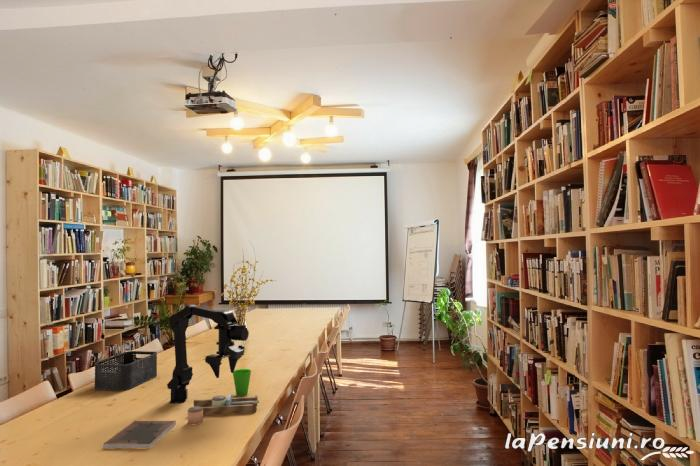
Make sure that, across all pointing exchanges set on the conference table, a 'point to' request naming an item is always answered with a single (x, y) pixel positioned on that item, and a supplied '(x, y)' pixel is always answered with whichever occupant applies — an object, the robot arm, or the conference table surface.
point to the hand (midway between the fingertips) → (225, 375)
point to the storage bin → (125, 371)
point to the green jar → (219, 401)
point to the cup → (241, 381)
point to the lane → (234, 408)
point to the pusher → (229, 402)
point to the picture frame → (140, 434)
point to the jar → (195, 415)
